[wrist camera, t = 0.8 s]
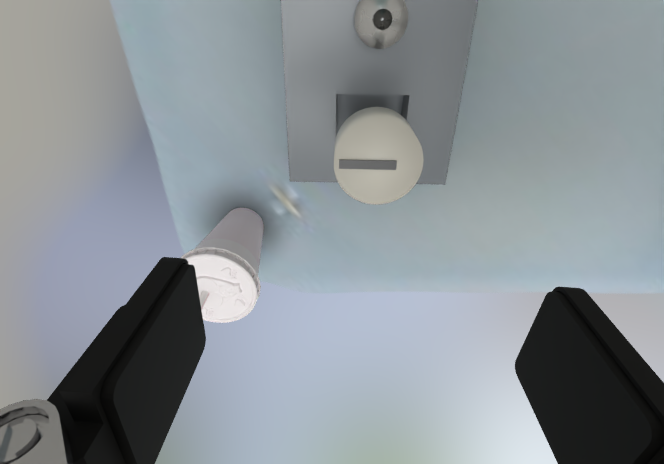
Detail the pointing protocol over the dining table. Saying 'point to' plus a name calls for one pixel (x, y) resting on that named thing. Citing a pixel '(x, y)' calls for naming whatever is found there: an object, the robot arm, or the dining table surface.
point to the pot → (380, 22)
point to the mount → (372, 79)
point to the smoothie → (229, 266)
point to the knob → (377, 156)
